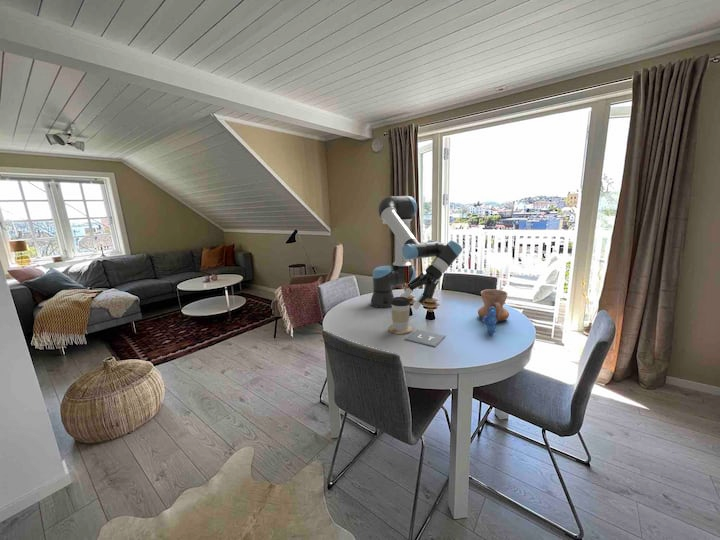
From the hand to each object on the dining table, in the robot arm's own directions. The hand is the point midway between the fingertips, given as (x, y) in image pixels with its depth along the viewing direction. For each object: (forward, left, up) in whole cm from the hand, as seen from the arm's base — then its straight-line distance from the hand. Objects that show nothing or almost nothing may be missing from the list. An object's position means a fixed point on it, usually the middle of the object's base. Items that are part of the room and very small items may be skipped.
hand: (407, 303), depth 138 cm
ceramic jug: (+31, +34, -13) cm, 48 cm away
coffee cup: (-3, -2, -12) cm, 13 cm away
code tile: (+11, -5, -13) cm, 18 cm away
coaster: (-3, -2, -13) cm, 14 cm away
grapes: (+33, +16, -13) cm, 39 cm away
